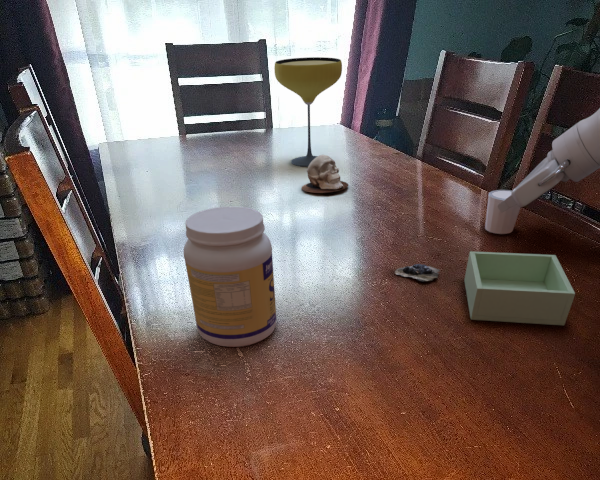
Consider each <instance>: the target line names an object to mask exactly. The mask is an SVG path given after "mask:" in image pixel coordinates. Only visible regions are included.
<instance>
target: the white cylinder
mask: <svg viewBox="0 0 600 480" xmlns="http://www.w3.org/2000/svg"><path fill="white" fill-rule="evenodd" d="M512 190H513V189H512ZM512 190H510V189H496V190H491V191H489V192H488V194H487V195H488V197H487V205H486V215H485V224H484V229H485V231H487V232H488V233H493V234H498V235H506V234H511V233H512V232H513V231H514V228H515V226H516V223H517V219H518V216H519V213H520V210H521V208H522V207H519V206H518V204H517V205H515V206H513V207H511V208H509V209H507V210H506V211H504V212H501V211H500V210H499V208H498V204H499V203H501V202H502V201H503V200H505V199H506V198H508V197H509V196H510V195H511V192H512Z"/></svg>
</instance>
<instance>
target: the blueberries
mask: <svg viewBox="0 0 600 480" xmlns="http://www.w3.org/2000/svg"><path fill="white" fill-rule="evenodd" d="M440 271H441V269H439V268H436V267H433V266H431V265H426V264H421V263H415V264H413V265H411V266H408V265H407V266H405V267H399V268H397V269H396V270H395V271H394V274H395V275H397V276H401V277H404V278H412V279H416V280H417V281H419V282H426V283H427V282H431V281H433V280H434V279H438V278H439V275H440V274H439V272H440Z"/></svg>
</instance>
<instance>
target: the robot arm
mask: <svg viewBox="0 0 600 480" xmlns="http://www.w3.org/2000/svg"><path fill="white" fill-rule="evenodd" d="M551 148H552V149H551V150H550V151H548V152H547V155H546V157H545V158H543V160H541V161H540V162H539V163H538V164H537V165H536V166H535V167H534V168H533V170H531V172H529V174H527V176H525V177H524V179H522V180H521V182H519V184H517V186H515V188H513V189H512V192H511V195H510V196H509V197H508V198H506V199H505V200H503V201H502V202H501V203H499V204H498V208H499V210H500V211H501V212H504V211H506V210H507V209H509V208H511V207H513V206H515V205H517V204H518V206H519V207H521V208H524V207H526V206H528V205H530V204H531V203H532V202H534V201H536V199H538V198H540V197H541V196H543V195H544V194H545V193H547V192H549V190H552V188H554V187H555V186H556V185H558V183H560V182H563V183H566V182H568V181H569V180H571V181H572V182H574V183H578V182H580V181H582V180H583V179H585V178H587V177H588V176H589V175H591V174H593V173H595V172H596V171H597V170H599V169H600V107H599V108H598V109H597V110H596V111H595V112H594V113H593V114H591V115H589V116H588V117H586V118H584V119H582V120H579V121H578V122H576V123H575V124H574V125H572V126H571V127H570V128H569V129H567V130H566V131H564V132H563V133H562V134H560V135H558V136H557V137H556V138H555V139H553V140H552V143H551Z"/></svg>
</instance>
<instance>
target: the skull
mask: <svg viewBox="0 0 600 480" xmlns="http://www.w3.org/2000/svg"><path fill="white" fill-rule="evenodd" d="M317 156H318V157H316V158H315V159H314V160H313V161H312V162H311V163H310V164H309V166H308V167H307V169H306V173H307V177H308V181H309V182H307V183H306V184H304V185H302V186H301V190H302V191H303V192H307V193H315V194H323V193H324V194H326V193H333V192H338V191H344V190H346V189H348V187H349V183H347V182H346V181H343V180H341V175H340V174H339V172H340V169H339V167H338V166H337V165H336V160H334V159H333V158H332V157H330V155H326V154H320V155H317Z"/></svg>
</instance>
